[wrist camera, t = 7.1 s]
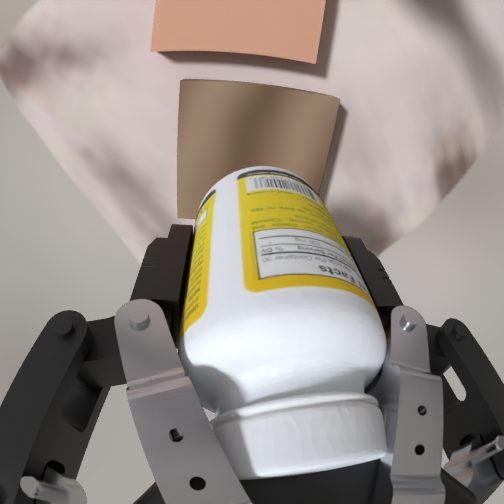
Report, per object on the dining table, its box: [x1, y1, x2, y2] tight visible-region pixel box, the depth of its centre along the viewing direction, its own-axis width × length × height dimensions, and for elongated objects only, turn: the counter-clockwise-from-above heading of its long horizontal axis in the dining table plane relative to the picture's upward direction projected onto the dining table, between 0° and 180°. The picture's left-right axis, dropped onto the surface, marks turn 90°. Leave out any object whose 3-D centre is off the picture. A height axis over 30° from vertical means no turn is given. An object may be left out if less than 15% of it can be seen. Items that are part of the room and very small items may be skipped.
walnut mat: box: [177, 79, 340, 219], centre depth 19 cm, size 10×10×2 cm
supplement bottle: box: [178, 166, 387, 480], centre depth 8 cm, size 5×5×10 cm
